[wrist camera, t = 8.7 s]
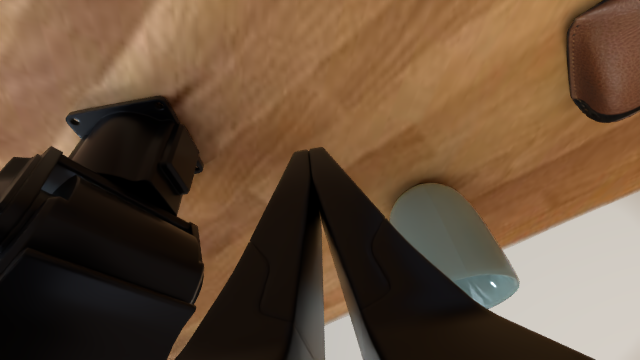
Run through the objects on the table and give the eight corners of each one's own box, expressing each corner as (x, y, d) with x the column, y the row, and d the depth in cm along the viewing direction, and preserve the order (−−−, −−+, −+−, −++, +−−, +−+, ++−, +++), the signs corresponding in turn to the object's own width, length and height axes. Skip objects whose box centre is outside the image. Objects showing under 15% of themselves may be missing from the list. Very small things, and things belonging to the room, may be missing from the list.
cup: (416, 159, 26) (470, 265, 19) (477, 183, 29) (542, 281, 22) (365, 214, 31) (393, 315, 24) (423, 229, 34) (463, 323, 27)
